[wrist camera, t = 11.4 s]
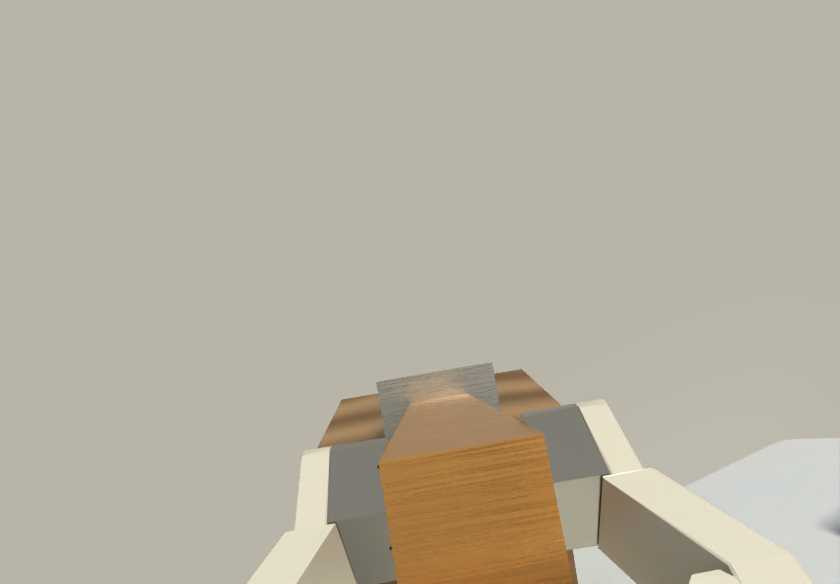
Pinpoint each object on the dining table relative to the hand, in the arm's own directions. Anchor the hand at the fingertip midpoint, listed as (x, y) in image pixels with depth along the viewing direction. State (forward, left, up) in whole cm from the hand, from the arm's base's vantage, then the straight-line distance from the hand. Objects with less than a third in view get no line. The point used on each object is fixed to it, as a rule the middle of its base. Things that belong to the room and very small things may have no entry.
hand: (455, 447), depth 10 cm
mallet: (+6, +6, -4) cm, 10 cm away
